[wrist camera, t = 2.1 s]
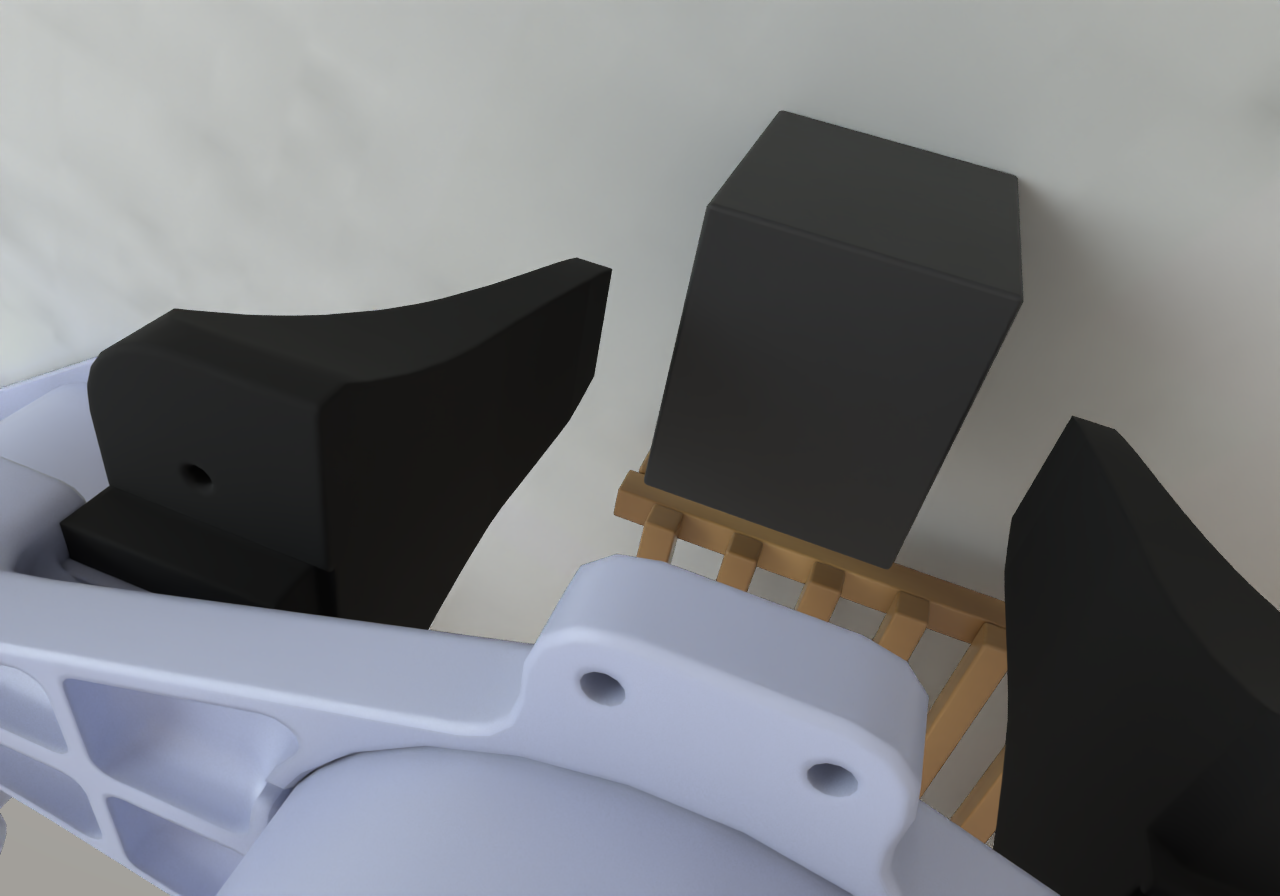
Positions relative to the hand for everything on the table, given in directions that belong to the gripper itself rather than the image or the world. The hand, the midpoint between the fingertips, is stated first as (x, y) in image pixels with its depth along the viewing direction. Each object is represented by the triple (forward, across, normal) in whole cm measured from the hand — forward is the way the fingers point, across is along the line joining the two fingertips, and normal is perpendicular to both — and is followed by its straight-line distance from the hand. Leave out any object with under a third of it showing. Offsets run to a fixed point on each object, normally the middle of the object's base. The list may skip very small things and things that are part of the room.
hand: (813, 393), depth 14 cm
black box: (+5, 0, 0) cm, 5 cm away
